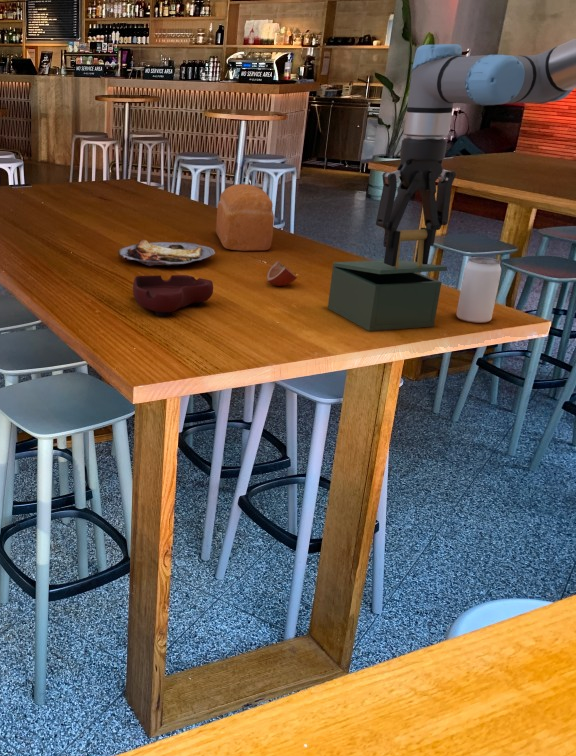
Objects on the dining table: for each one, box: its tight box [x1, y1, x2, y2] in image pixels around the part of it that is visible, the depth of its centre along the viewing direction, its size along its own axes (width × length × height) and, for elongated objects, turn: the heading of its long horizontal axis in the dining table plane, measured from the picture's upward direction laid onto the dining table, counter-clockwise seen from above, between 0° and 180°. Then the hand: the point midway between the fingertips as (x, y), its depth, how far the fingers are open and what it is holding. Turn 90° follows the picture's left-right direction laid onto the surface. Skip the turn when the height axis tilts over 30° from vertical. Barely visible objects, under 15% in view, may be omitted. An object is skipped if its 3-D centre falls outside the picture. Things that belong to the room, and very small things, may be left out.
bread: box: [215, 183, 275, 252], centre depth 228 cm, size 14×26×16 cm, turn 175°
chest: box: [327, 266, 443, 332], centre depth 159 cm, size 16×14×9 cm
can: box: [455, 256, 502, 324], centre depth 158 cm, size 6×6×12 cm
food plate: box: [117, 239, 216, 267], centre depth 209 cm, size 25×23×4 cm
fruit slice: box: [266, 260, 298, 287], centre depth 184 cm, size 8×7×5 cm
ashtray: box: [132, 274, 214, 318], centre depth 169 cm, size 18×16×5 cm
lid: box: [332, 228, 448, 274], centre depth 156 cm, size 17×14×8 cm
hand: (405, 263), depth 151 cm, fingers closed on lid, 6 cm apart
